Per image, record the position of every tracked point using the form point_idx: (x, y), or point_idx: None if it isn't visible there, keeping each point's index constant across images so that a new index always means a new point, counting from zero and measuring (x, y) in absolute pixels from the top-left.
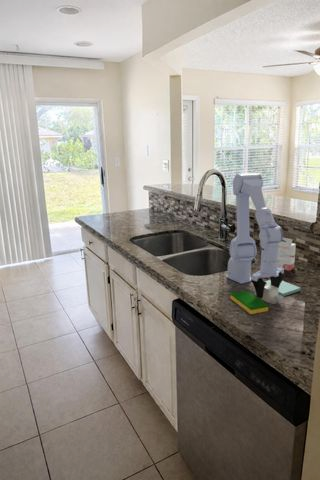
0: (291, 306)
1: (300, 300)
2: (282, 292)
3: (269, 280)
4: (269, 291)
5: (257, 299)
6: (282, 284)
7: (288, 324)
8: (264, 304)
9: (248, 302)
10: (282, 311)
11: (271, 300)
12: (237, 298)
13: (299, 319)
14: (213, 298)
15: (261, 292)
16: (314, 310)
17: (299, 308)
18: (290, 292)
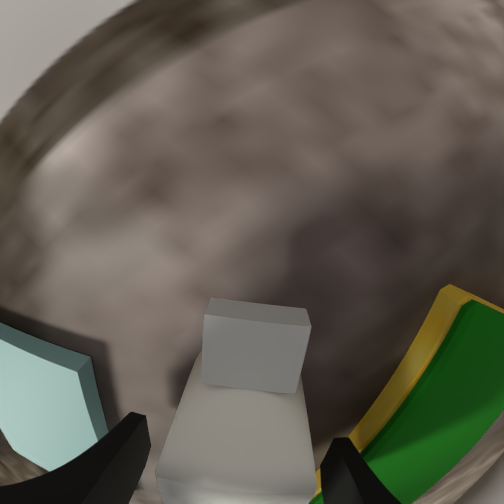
0: (189, 185)
1: (31, 214)
2: (68, 381)
3: (51, 470)
4: (315, 472)
5: (408, 431)
6: (11, 412)
7: (494, 57)
8: (475, 339)
9: (483, 415)
10: (376, 183)
11: (299, 377)
12: (447, 471)
13: (380, 8)
14: (431, 498)
15: (380, 481)
16: (112, 20)
17: (168, 105)
18: (15, 337)
